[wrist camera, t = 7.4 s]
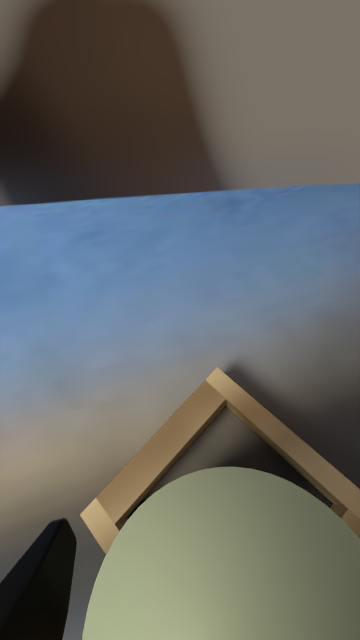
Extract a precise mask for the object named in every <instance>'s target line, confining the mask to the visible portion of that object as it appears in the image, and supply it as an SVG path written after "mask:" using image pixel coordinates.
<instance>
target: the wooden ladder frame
mask: <svg viewBox="0 0 360 640" xmlns="http://www.w3.org/2000/svg"><path fill="white" fill-rule="evenodd" d="M225 406H227V407H228V408H229V409H230V410H231V411H232V412H233V413H234V414H235V415H236V416H238V417H239V418H240V419H241V420H242V421H243V422H244V423H245V424H246V425H247V426H248V427H250V428H251V429H252V430H253V431H254V432H255V433H256V434H257V435H258V436H259V437H261V438H262V439H263V440H264V441H265V442H266V443H267V444H268V445H269V446H270V447H271V448H273V449H274V450H275V451H276V452H277V453H278V454H279V455H280V456H281V457H282V458H284V459H285V460H286V461H287V462H288V463H289V464H290V465H291V466H292V467H293V468H294V469H296V470H297V471H298V472H299V473H300V474H301V475H302V476H303V477H304V478H305V479H307V480H308V481H309V482H310V483H311V484H312V485H313V486H314V487H315V488H316V489H317V490H319V491H320V492H321V493H322V494H323V495H324V496H325V497H326V498H327V499H328V500H330V501H331V502H332V503H333V504H332V506H331V507H330V509H331V510H332V511H333V512H334V513H335V514H337V515H338V516H339V517H340V518H341V519H342V520H343V521H344V522H345V523H346V524H347V525H348V526H349V527H350V528H351V530H352V531H353V532H354V533H355V534H356V535H357V536H358V537H359V538H360V489H359V488H358V487H357V486H355V485H354V484H353V483H352V482H351V481H350V480H348V479H347V478H346V477H345V476H344V475H343V474H341V473H340V472H339V471H338V470H337V469H336V468H334V467H333V466H332V465H331V464H330V463H329V462H327V461H326V460H325V459H324V458H323V457H322V456H320V455H319V454H318V453H317V452H316V451H315V450H313V449H312V448H311V447H310V446H309V445H307V444H306V443H305V442H304V441H303V440H302V439H300V438H299V437H298V436H297V435H296V434H295V433H293V432H292V431H291V430H290V429H289V428H288V427H286V426H285V425H284V424H283V423H282V422H281V421H279V420H278V419H277V418H276V417H275V416H274V415H272V414H271V413H270V412H269V411H268V410H267V409H265V408H264V407H263V406H262V405H261V404H260V403H258V402H257V401H256V400H255V399H254V398H253V397H251V396H250V395H249V394H248V393H247V392H246V391H244V390H243V389H242V388H241V387H240V386H239V385H237V384H236V383H235V382H234V381H233V380H231V379H230V378H229V377H228V376H227V375H226V374H224V373H223V372H222V371H221V370H220V369H219V368H216V369H215V370H214V371H213V372H212V373H211V375H210V376H209V377H208V378H207V379H206V380H205V381H204V382H203V383H202V384H201V385H200V386H199V387H198V388H197V390H196V391H195V392H194V393H193V394H192V395H191V396H190V397H189V398H188V399H187V400H186V401H185V402H184V404H183V405H182V406H181V407H180V408H179V409H178V410H177V411H176V412H175V413H174V414H173V415H172V416H171V417H170V419H169V420H168V421H167V422H166V423H165V424H164V425H163V426H162V427H161V428H160V429H159V430H158V431H157V433H156V434H155V435H154V436H153V437H152V438H151V439H150V440H149V441H148V442H147V443H146V444H145V445H144V447H143V448H142V449H141V450H140V451H139V452H138V453H137V454H136V455H135V456H134V457H133V458H132V459H131V460H130V462H129V463H128V464H127V465H126V466H125V467H124V468H123V469H122V470H121V471H120V472H119V473H118V474H117V476H116V477H115V478H114V479H113V480H112V481H111V482H110V483H109V484H108V485H107V486H106V487H105V488H104V489H103V491H102V492H101V493H100V494H99V495H98V496H97V497H96V498H95V499H94V500H93V501H92V502H91V503H90V505H89V506H88V507H87V508H86V509H85V510H84V511H83V512H82V513H81V514H80V516H81V517H82V519H83V520H84V522H85V523H86V525H87V526H88V528H89V529H90V531H91V532H92V534H93V535H94V537H95V538H96V540H97V541H98V543H99V545H100V546H101V548H102V549H103V551H104V552H105V554H106V555H107V553H108V551H109V549H110V547H111V545H112V543H113V541H114V539H115V538H116V536H117V535H118V533H119V532H120V530H121V529H122V527H123V526H124V524H125V523H126V521H127V520H128V519H127V517H128V516H129V515H130V514H131V513H132V511H133V510H134V509H135V508H136V507H137V506H138V505H139V504H140V502H141V501H142V500H143V499H144V498H145V497H146V496H147V494H148V493H149V492H150V491H151V490H152V489H153V488H154V487H155V485H156V484H157V483H158V482H159V481H160V480H161V479H162V477H163V476H164V475H165V474H166V473H167V472H168V471H169V469H170V468H171V467H172V466H173V465H174V464H175V463H176V462H177V460H178V459H179V458H180V457H181V456H182V455H183V454H184V452H185V451H186V450H187V449H188V448H189V447H190V446H191V444H192V443H193V442H194V441H195V440H196V439H197V438H198V437H199V435H200V434H201V433H202V432H203V431H204V430H205V429H206V427H207V426H208V425H209V424H210V423H211V422H212V421H213V419H214V418H215V417H216V416H217V415H218V414H219V413H220V412H221V410H222V409H223V408H224V407H225Z"/></svg>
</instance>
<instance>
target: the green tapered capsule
mask: <svg viewBox="0 0 360 640" xmlns="http://www.w3.org/2000/svg"><path fill="white" fill-rule="evenodd" d="M82 640H360V538H359V537H358V536H357V535H356V534H355V533H354V532H353V531H352V530H351V528H350V527H349V526H348V525H347V524H346V523H345V522H344V521H343V520H342V519H341V518H340V517H339V516H338V515H337V514H335V513H334V512H333V511H332V510H331V509H330V508H329V507H328V506H327V505H325V504H324V503H323V502H321V501H320V500H319V499H317V498H316V497H314V496H313V495H312V494H310V493H309V492H307V491H306V490H304V489H302V488H300V487H299V486H297V485H295V484H293V483H291V482H290V481H287V480H285V479H283V478H280V477H278V476H275V475H273V474H270V473H266V472H263V471H259V470H255V469H249V468H241V467H215V468H209V469H204V470H199V471H196V472H193V473H190V474H187V475H184V476H182V477H180V478H178V479H176V480H174V481H172V482H170V483H168V484H167V485H165V486H164V487H162V488H161V489H159V490H158V491H156V492H155V493H153V494H152V495H151V496H150V497H149V498H148V499H147V500H146V501H145V502H144V503H142V504H141V505H140V506H139V507H138V508H137V510H136V511H135V512H134V513H133V514H132V516H131V517H130V518H129V519H128V520H127V521H126V523H125V524H124V526H123V527H122V529H121V530H120V532H119V533H118V535H117V536H116V538H115V539H114V541H113V543H112V545H111V547H110V549H109V551H108V553H107V555H106V557H105V558H104V561H103V563H102V566H101V568H100V571H99V573H98V576H97V578H96V581H95V584H94V588H93V591H92V595H91V598H90V602H89V605H88V610H87V615H86V620H85V625H84V631H83V638H82Z"/></svg>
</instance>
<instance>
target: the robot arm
mask: <svg viewBox="0 0 360 640" xmlns="http://www.w3.org/2000/svg"><path fill="white" fill-rule="evenodd" d="M75 553H76V537H75V535H74V533H73V530H72V528H71V526H70V524H69V522H68V520H67V519H65V518H61V519H57V520H53V521H51V522H50V523H49V524H48V525H47V527H46V528H45V529H44V530H43V532H42V533H41V534H40V535H39V536H38V538H37V539H36V540H35V541H34V542H33V544H32V545H31V546H30V547H29V549H28V550H27V551H26V552H25V553H24V555H23V556H22V557H21V558H20V560H19V561H18V562H17V563H16V564H15V566H14V567H13V568H12V569H11V571H10V572H9V573H8V574H7V575H6V577H5V578H4V579H3V580H2V582H1V583H0V640H62V638H63V633H64V629H65V624H66V619H67V613H68V607H69V600H70V593H71V585H72V577H73V569H74V561H75Z"/></svg>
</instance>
